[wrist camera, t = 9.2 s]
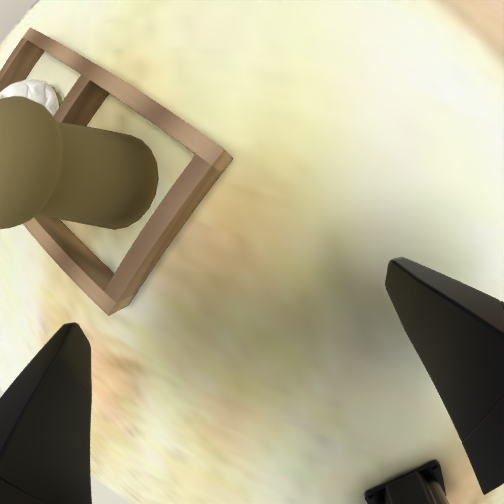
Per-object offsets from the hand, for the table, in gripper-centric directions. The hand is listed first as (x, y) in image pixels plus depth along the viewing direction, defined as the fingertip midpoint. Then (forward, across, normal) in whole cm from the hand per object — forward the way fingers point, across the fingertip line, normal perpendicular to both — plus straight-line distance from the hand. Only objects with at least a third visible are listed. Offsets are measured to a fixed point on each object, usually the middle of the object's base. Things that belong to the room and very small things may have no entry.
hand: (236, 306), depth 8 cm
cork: (+13, +6, 0) cm, 14 cm away
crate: (+15, +9, -3) cm, 18 cm away
